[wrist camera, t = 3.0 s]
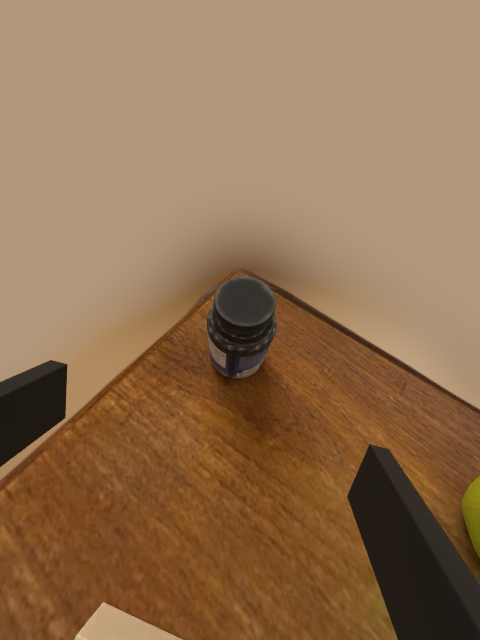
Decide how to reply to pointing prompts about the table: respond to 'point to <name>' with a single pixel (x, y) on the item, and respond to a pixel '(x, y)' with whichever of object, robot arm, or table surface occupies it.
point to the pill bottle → (241, 326)
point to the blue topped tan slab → (119, 627)
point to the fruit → (472, 513)
